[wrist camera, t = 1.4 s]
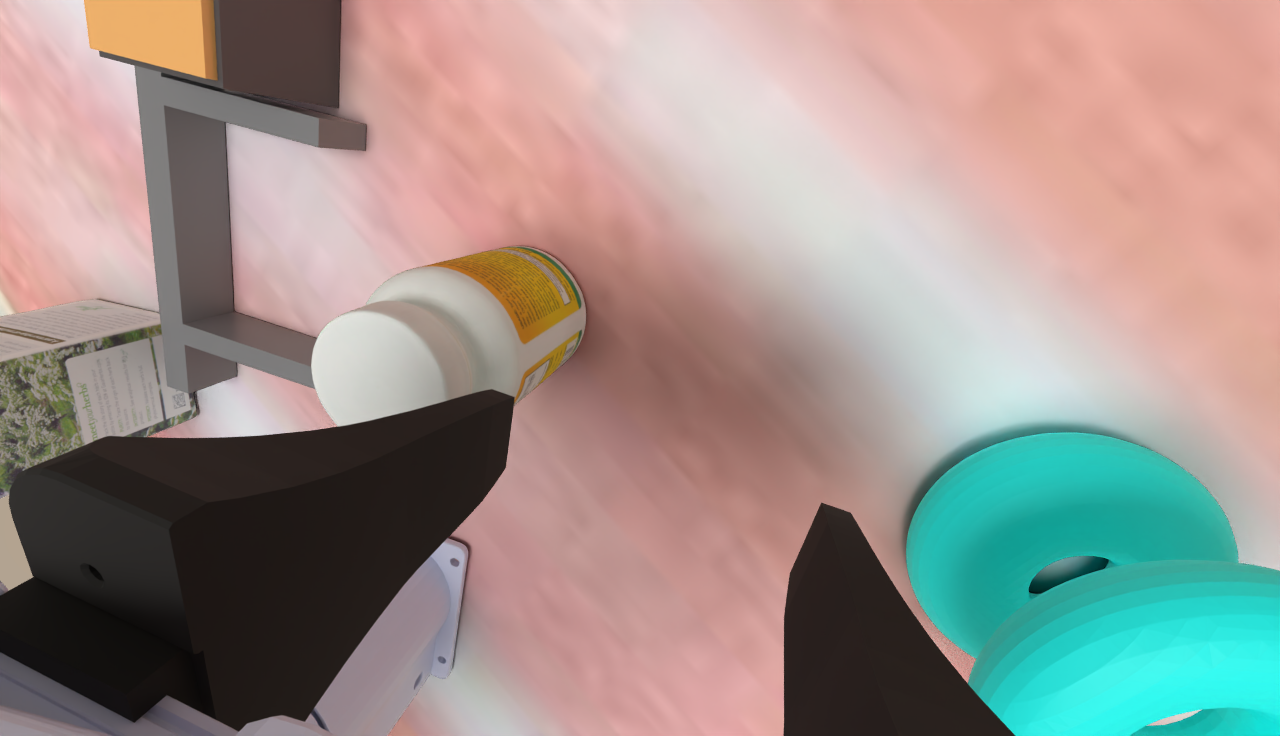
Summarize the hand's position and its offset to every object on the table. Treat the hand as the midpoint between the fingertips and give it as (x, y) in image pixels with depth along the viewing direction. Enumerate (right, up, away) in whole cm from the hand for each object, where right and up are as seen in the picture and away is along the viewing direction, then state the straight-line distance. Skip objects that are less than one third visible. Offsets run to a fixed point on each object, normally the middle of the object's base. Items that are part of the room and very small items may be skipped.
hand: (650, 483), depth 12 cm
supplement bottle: (-5, +5, +11) cm, 13 cm away
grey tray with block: (-16, +10, +12) cm, 22 cm away
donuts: (+15, -4, +9) cm, 18 cm away
